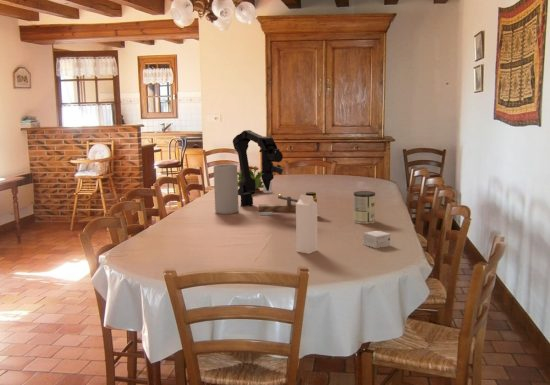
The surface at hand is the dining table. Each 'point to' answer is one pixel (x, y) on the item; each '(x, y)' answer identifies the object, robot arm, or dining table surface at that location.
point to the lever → (286, 198)
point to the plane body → (278, 207)
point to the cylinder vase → (226, 189)
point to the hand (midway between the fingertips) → (267, 189)
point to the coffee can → (364, 207)
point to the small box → (376, 239)
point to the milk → (306, 224)
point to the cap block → (269, 188)
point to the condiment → (313, 196)
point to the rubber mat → (266, 213)
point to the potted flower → (257, 178)
